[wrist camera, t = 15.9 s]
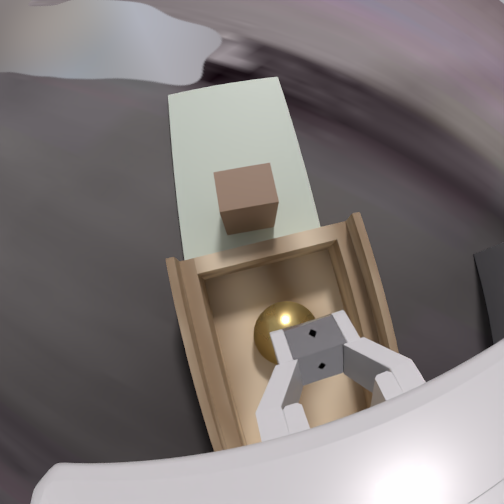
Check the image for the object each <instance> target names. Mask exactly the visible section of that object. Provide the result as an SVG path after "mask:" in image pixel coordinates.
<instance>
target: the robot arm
mask: <svg viewBox="0 0 504 504" xmlns="http://www.w3.org/2000/svg"><path fill="white" fill-rule="evenodd" d="M270 337H271V341H272V344H273V348H274V352H275V356H276V360H277V363H278V365H276V366H275V368H274V370H273V373H272V375H271V378H270V380H269V382H268V385H267V387H266V389H265V392H264V394H263V397H262V399H261V401H260V403H259V406H258V408H257V410H256V413H255V414H256V418H257V423H258V427H259V432H260V437H261V441H262V442H259V443H254V444H250V445H246V446H241V447H236V448H231V449H226V450H221V451H216V452H210V453H204V454H198V455H191V456H184V457H176V458H168V459H159V460H148V461H136V462H119V463H57V464H55V465H54V466H53V467H52V468H50V469H49V471H48V472H47V473H46V474H45V475H44V476H43V478H42V479H41V480H40V481H39V483H38V484H37V485H36V487H35V489H34V491H33V495H32V499H31V503H30V504H504V338H503V339H502V340H500V341H499V342H497V343H496V344H494V345H492V346H491V347H489V348H488V349H486V350H484V351H483V352H481V353H479V354H478V355H476V356H474V357H473V358H471V359H469V360H467V361H466V362H464V363H462V364H460V365H459V366H457V367H455V368H453V369H451V370H449V371H447V372H446V373H444V374H442V375H440V376H438V377H436V378H434V379H432V380H430V381H428V382H425V380H424V379H423V377H422V375H421V374H420V372H419V371H418V369H417V368H416V366H415V364H414V363H413V361H412V360H411V359H409V358H407V357H405V356H403V355H401V354H399V353H396V352H394V351H392V350H390V349H388V348H386V347H384V346H382V345H380V344H377V343H375V342H373V341H371V340H369V339H367V338H365V337H362V338H360V337H359V335H358V333H357V331H356V330H355V328H354V326H353V324H352V323H351V321H350V319H349V318H348V316H347V314H346V312H345V311H344V310H341V311H338V312H335V313H332V314H328V315H325V316H322V317H319V318H316V319H313V320H310V321H307V322H305V323H301V324H298V325H294V326H290V327H287V328H283V329H280V330H276V331H272V332H270ZM341 373H344V374H345V375H346V376H348V377H349V378H351V379H352V380H354V381H355V382H357V383H358V384H360V385H361V386H363V387H364V388H366V389H367V390H369V391H370V392H372V393H373V395H372V401H371V406H370V407H369V408H367V409H364V410H362V411H359V412H357V413H354V414H351V415H349V416H346V417H343V418H340V419H337V420H334V421H332V422H329V423H326V424H323V425H319V426H316V427H313V428H310V427H309V424H308V421H307V418H306V415H305V412H304V409H303V407H302V404H299V400H300V396H301V393H302V389H303V386H304V385H307V384H310V383H313V382H316V381H319V380H322V379H325V378H328V377H331V376H335V375H338V374H341Z"/></svg>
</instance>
